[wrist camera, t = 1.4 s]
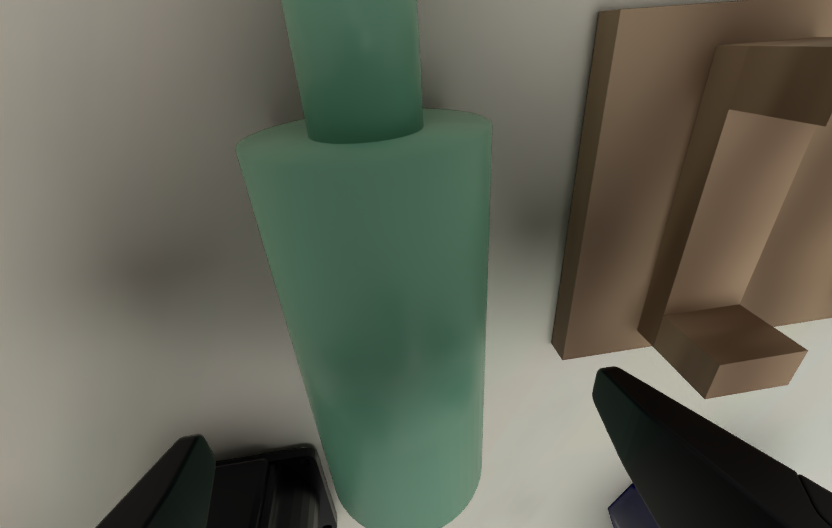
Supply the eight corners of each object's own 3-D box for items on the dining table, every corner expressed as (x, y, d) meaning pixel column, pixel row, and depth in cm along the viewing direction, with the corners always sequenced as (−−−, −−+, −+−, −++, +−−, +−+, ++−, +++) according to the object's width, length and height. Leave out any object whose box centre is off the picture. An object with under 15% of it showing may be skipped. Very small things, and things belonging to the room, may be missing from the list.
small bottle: (467, 392, 17) (496, 528, 12) (341, 402, 17) (322, 545, 12) (468, -78, 9) (551, -203, 4) (232, -61, 9) (57, -170, 4)
